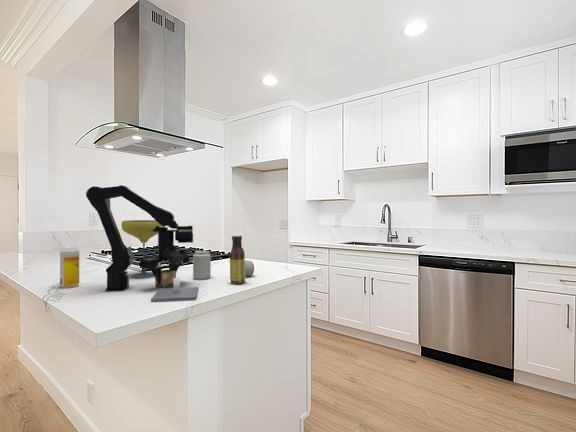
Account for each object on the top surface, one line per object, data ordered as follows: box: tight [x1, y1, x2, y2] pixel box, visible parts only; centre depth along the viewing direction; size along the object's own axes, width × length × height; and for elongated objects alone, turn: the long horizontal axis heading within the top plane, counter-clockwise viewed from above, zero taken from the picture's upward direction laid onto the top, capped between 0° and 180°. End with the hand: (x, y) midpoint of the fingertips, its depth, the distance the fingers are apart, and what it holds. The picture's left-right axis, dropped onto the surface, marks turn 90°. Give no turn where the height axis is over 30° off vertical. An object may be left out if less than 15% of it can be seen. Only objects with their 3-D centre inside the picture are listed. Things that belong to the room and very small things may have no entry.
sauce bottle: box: [229, 234, 246, 285], centre depth 127 cm, size 6×6×20 cm
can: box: [192, 250, 212, 281], centre depth 136 cm, size 8×8×12 cm
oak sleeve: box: [154, 268, 177, 289], centre depth 121 cm, size 5×5×6 cm
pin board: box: [150, 277, 200, 303], centre depth 108 cm, size 14×14×6 cm
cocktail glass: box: [121, 219, 166, 279], centre depth 139 cm, size 18×18×25 cm
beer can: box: [59, 246, 80, 289], centre depth 119 cm, size 6×6×15 cm
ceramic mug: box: [245, 260, 255, 278], centre depth 142 cm, size 11×8×8 cm
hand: (165, 282), depth 121 cm, fingers closed on oak sleeve, 5 cm apart
